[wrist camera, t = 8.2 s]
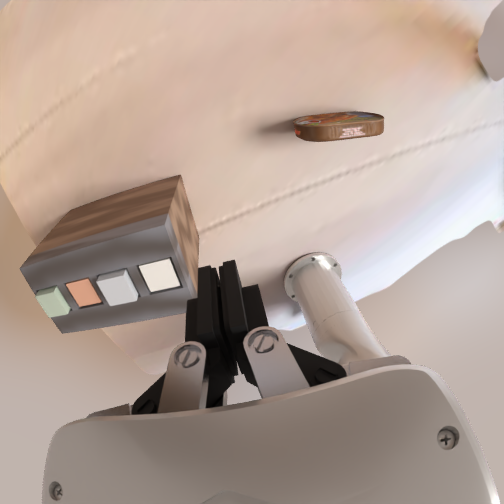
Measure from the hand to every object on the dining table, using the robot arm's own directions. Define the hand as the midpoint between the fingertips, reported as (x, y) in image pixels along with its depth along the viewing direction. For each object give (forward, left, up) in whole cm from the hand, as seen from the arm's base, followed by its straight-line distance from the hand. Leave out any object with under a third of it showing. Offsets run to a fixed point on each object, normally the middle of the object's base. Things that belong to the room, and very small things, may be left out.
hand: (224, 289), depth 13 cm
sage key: (-9, +25, -18) cm, 32 cm away
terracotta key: (-9, +20, -19) cm, 29 cm away
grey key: (-9, +14, -17) cm, 24 cm away
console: (-9, +17, -35) cm, 40 cm away
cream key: (-9, +9, -19) cm, 23 cm away
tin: (+1, -20, -35) cm, 41 cm away
